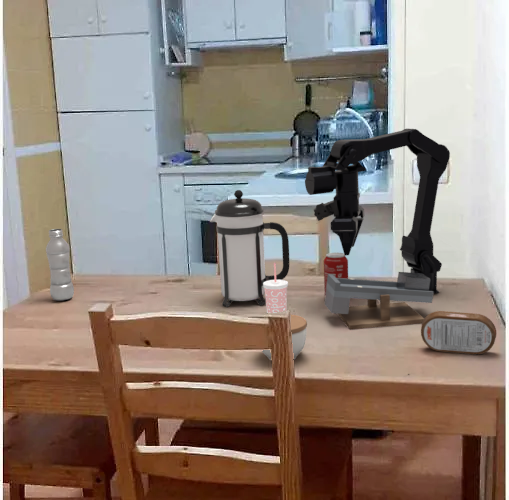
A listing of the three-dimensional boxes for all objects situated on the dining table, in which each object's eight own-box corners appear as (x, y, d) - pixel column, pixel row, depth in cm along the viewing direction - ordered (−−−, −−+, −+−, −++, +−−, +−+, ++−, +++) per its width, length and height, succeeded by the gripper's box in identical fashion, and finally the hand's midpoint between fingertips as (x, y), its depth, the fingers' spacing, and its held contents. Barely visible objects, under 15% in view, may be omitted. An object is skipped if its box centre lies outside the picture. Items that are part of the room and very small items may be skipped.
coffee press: (243, 313, 179) (237, 196, 172) (205, 301, 191) (198, 191, 184) (292, 298, 190) (288, 187, 183) (253, 288, 202) (248, 183, 195)
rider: (419, 289, 174) (422, 273, 173) (427, 295, 168) (430, 279, 168) (396, 287, 173) (398, 271, 172) (403, 293, 168) (406, 277, 167)
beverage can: (348, 294, 191) (347, 251, 188) (348, 301, 184) (348, 257, 182) (324, 295, 191) (323, 252, 189) (324, 302, 185) (323, 257, 183)
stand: (404, 305, 179) (404, 279, 177) (424, 323, 165) (424, 294, 164) (335, 311, 177) (334, 284, 175) (349, 329, 163) (349, 300, 162)
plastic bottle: (46, 302, 197) (37, 232, 193) (61, 295, 203) (53, 227, 199) (65, 303, 195) (57, 232, 190) (79, 297, 201) (72, 228, 196)
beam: (417, 308, 177) (421, 279, 175) (430, 319, 168) (434, 289, 167) (323, 303, 173) (327, 273, 172) (332, 313, 165) (336, 282, 163)
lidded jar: (269, 370, 142) (267, 325, 140) (248, 353, 151) (246, 311, 149) (316, 360, 146) (315, 317, 144) (293, 344, 156) (292, 303, 153)
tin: (495, 352, 146) (497, 313, 144) (495, 357, 143) (496, 318, 141) (421, 346, 151) (421, 308, 149) (419, 351, 148) (419, 313, 146)
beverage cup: (261, 320, 172) (258, 265, 169) (269, 313, 178) (266, 259, 175) (285, 322, 170) (282, 266, 167) (292, 314, 176) (290, 260, 173)
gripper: (321, 185, 188) (324, 242, 192) (308, 197, 171) (311, 259, 174) (363, 184, 185) (365, 242, 189) (354, 196, 168) (356, 260, 171)
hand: (349, 250), depth 181 cm, fingers open, 9 cm apart
